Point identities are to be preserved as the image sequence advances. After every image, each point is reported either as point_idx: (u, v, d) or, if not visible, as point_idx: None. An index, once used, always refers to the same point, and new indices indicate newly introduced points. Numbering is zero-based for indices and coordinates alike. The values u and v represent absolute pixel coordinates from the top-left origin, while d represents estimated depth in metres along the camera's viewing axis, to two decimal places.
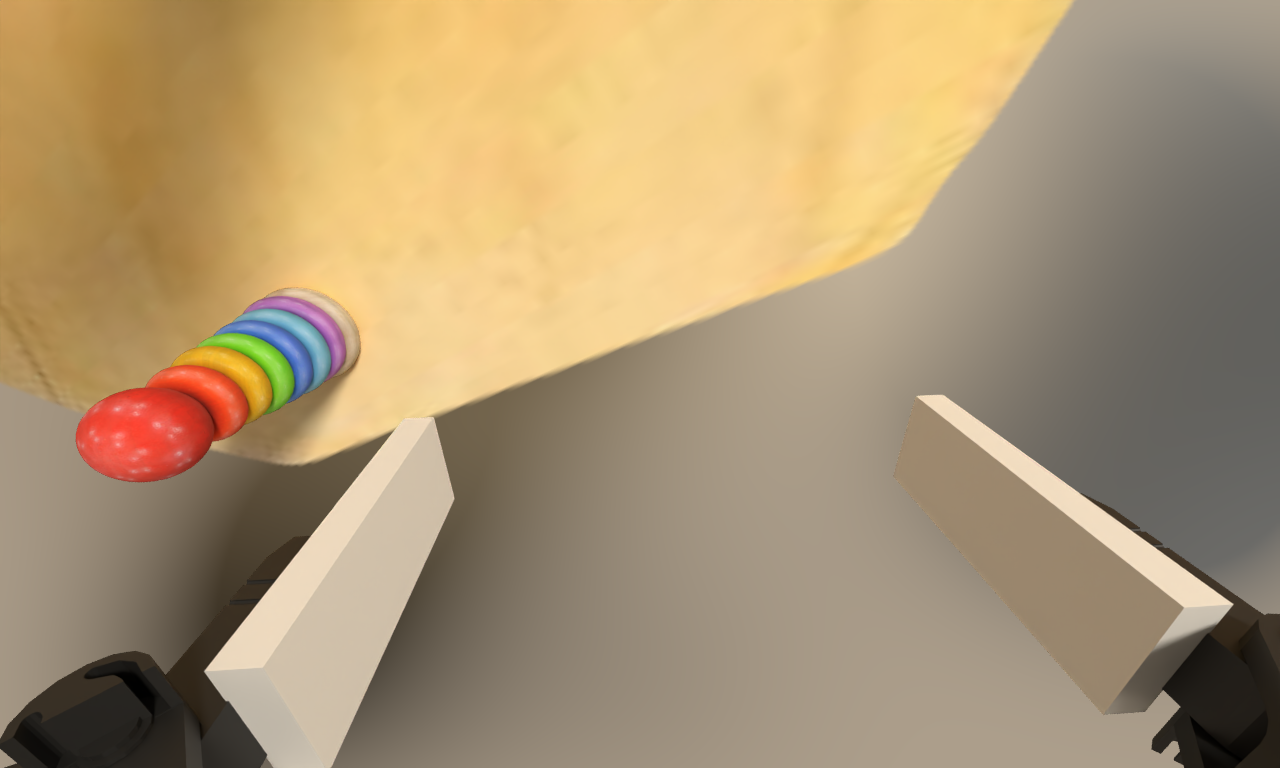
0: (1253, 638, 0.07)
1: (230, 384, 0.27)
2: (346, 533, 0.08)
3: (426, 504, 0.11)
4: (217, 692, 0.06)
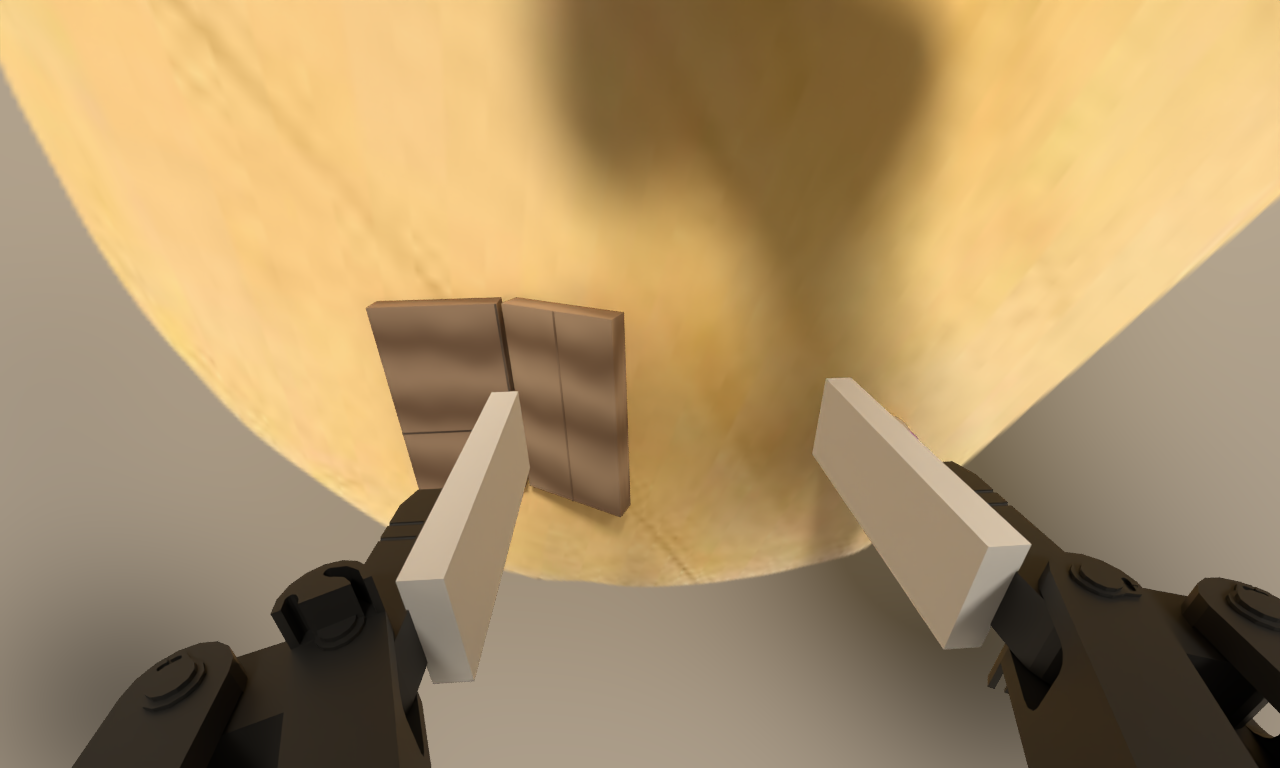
0: (1047, 578, 0.07)
1: None
2: (474, 482, 0.09)
3: (515, 468, 0.12)
4: (397, 603, 0.08)
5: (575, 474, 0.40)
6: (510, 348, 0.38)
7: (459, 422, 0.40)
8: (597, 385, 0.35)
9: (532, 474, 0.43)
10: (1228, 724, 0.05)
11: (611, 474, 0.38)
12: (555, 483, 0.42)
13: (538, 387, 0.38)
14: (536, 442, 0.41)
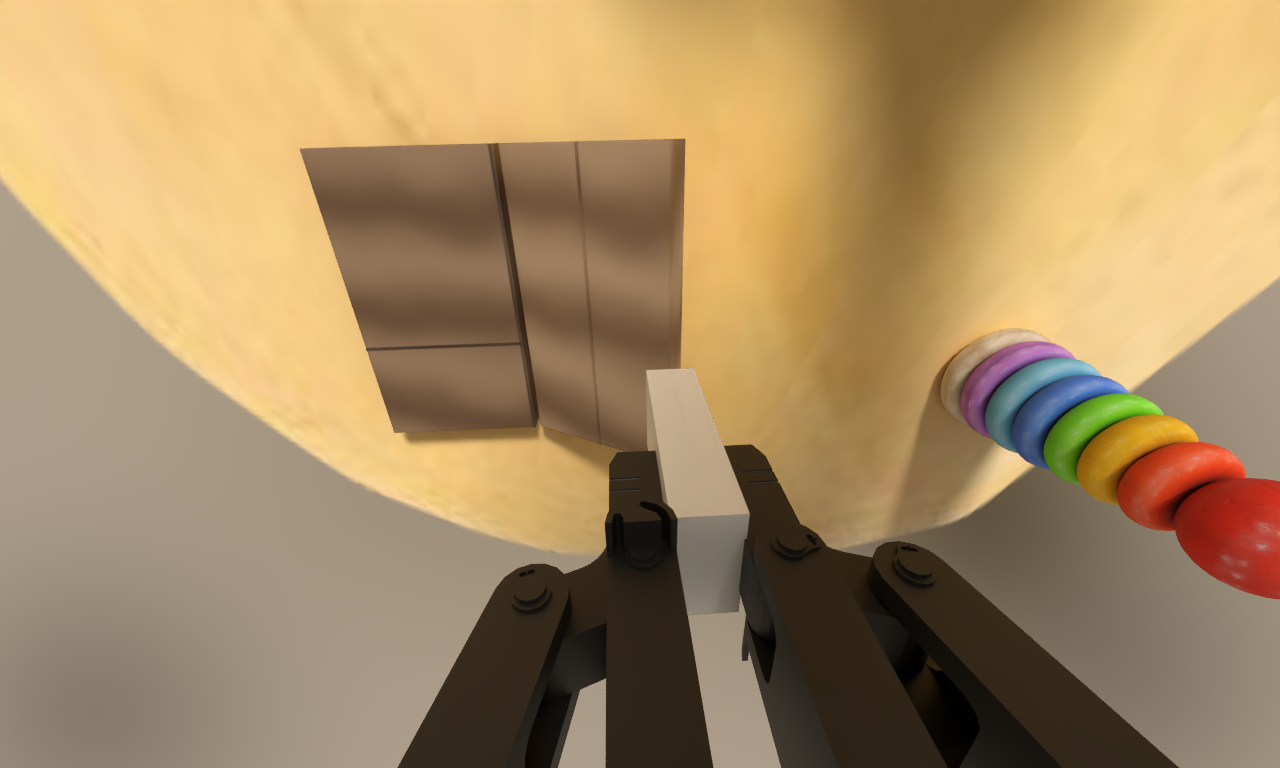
0: (757, 555, 0.08)
1: (1223, 448, 0.22)
2: (683, 442, 0.11)
3: None
4: None
5: (604, 405, 0.29)
6: (512, 218, 0.26)
7: (443, 333, 0.29)
8: (641, 260, 0.23)
9: (544, 409, 0.32)
10: (881, 650, 0.06)
11: None
12: (576, 421, 0.31)
13: (553, 276, 0.27)
14: (550, 361, 0.30)
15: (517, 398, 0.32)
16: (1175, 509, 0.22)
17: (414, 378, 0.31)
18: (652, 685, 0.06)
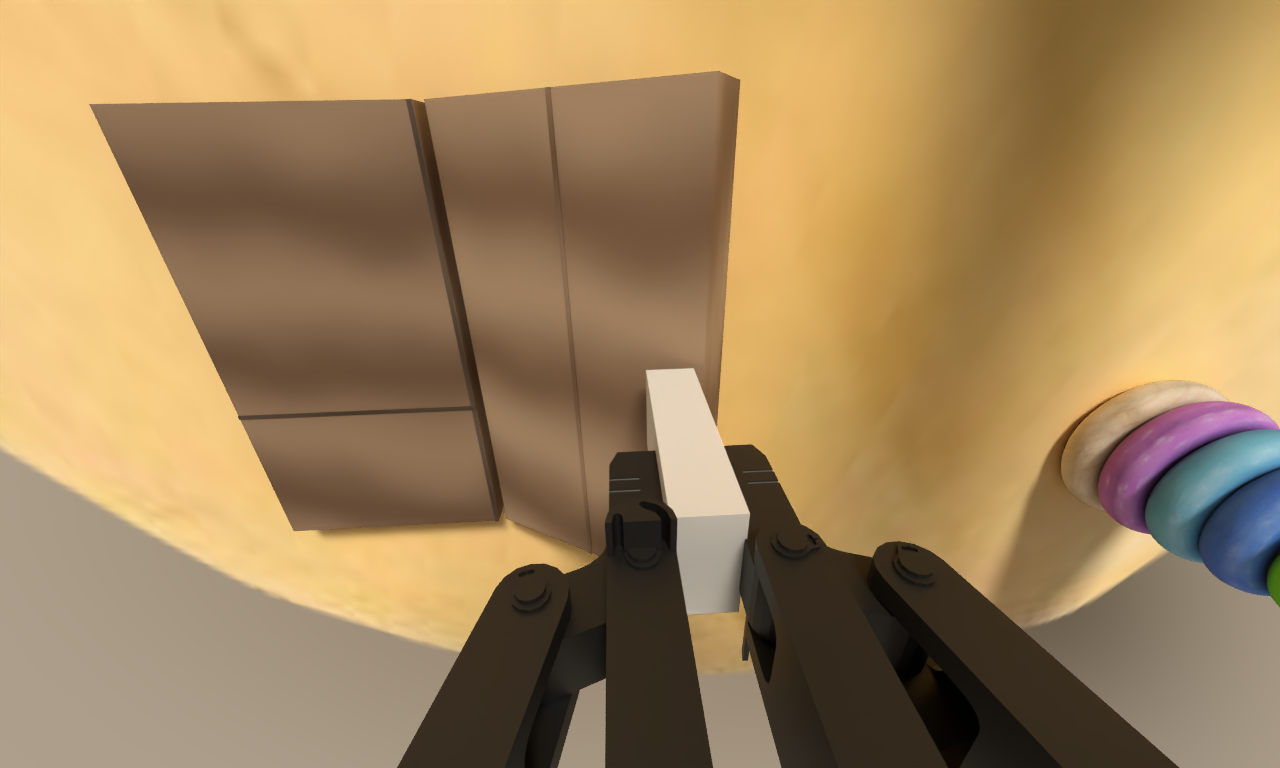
0: (757, 555, 0.08)
1: None
2: (683, 442, 0.11)
3: None
4: None
5: (597, 503, 0.19)
6: (452, 221, 0.17)
7: (355, 394, 0.19)
8: (660, 290, 0.14)
9: (510, 498, 0.22)
10: (882, 650, 0.06)
11: None
12: (556, 518, 0.21)
13: (517, 312, 0.17)
14: (517, 435, 0.20)
15: (471, 482, 0.22)
16: None
17: (316, 457, 0.21)
18: (652, 685, 0.06)
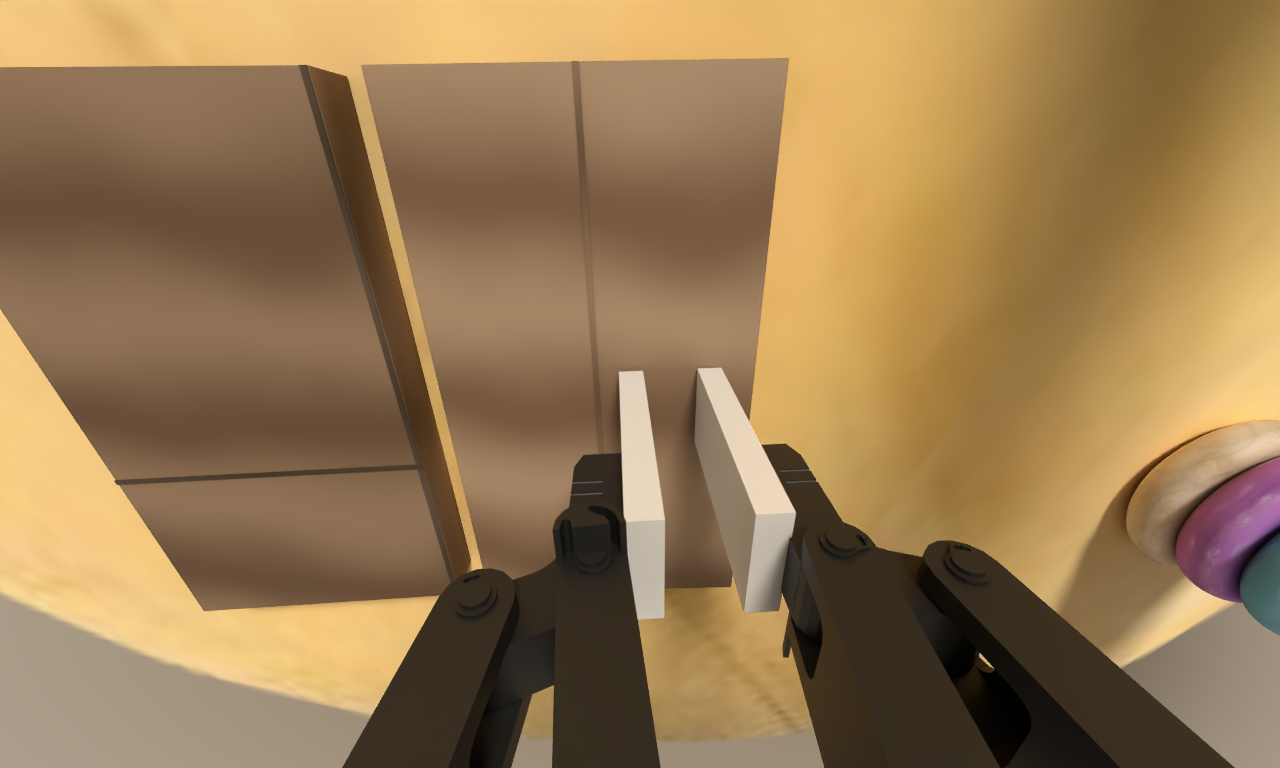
0: (804, 552, 0.08)
1: None
2: (647, 445, 0.11)
3: None
4: None
5: None
6: (411, 233, 0.12)
7: (266, 452, 0.15)
8: (711, 288, 0.13)
9: (496, 566, 0.18)
10: (934, 653, 0.06)
11: None
12: None
13: (516, 338, 0.14)
14: (509, 487, 0.16)
15: (422, 552, 0.18)
16: None
17: (223, 527, 0.16)
18: (600, 691, 0.06)
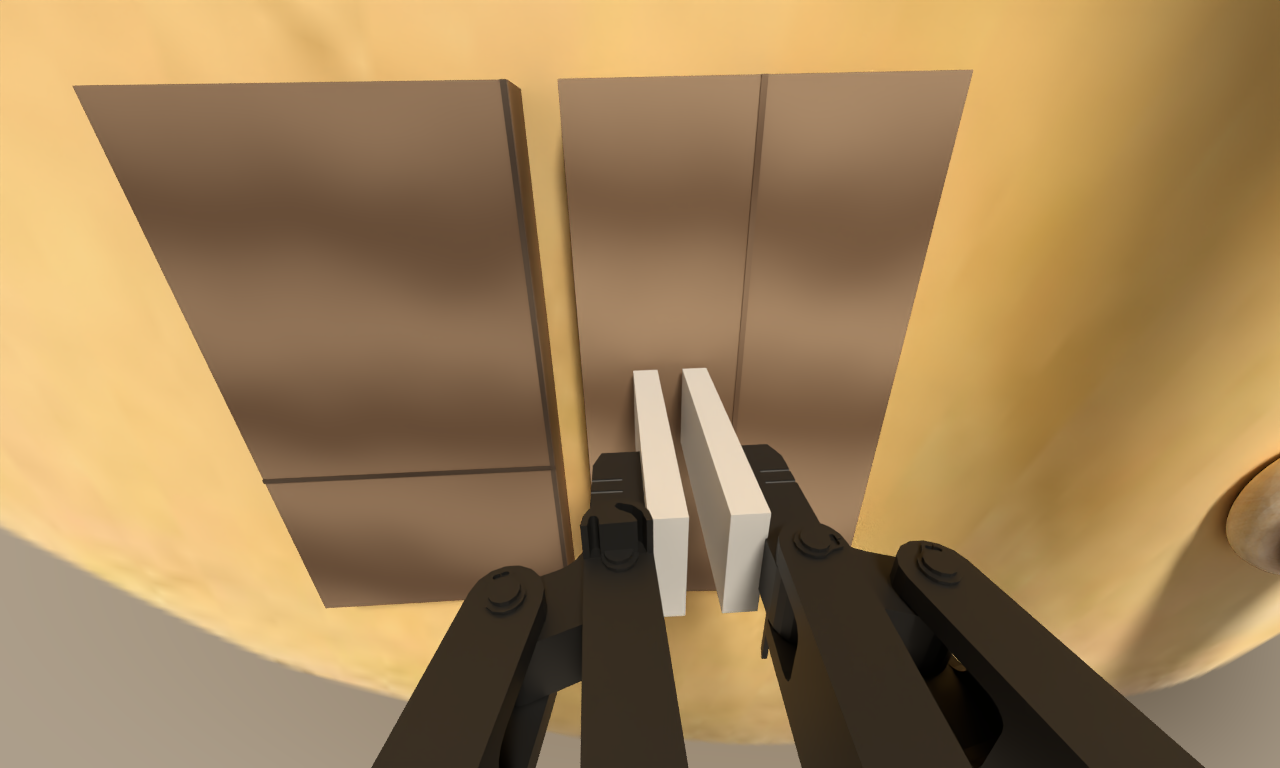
0: (779, 553, 0.08)
1: None
2: (666, 443, 0.11)
3: None
4: None
5: None
6: (580, 240, 0.13)
7: (408, 453, 0.16)
8: (864, 293, 0.13)
9: None
10: (906, 651, 0.06)
11: (841, 507, 0.17)
12: None
13: (666, 342, 0.14)
14: None
15: (542, 552, 0.18)
16: None
17: (356, 526, 0.17)
18: (628, 687, 0.06)
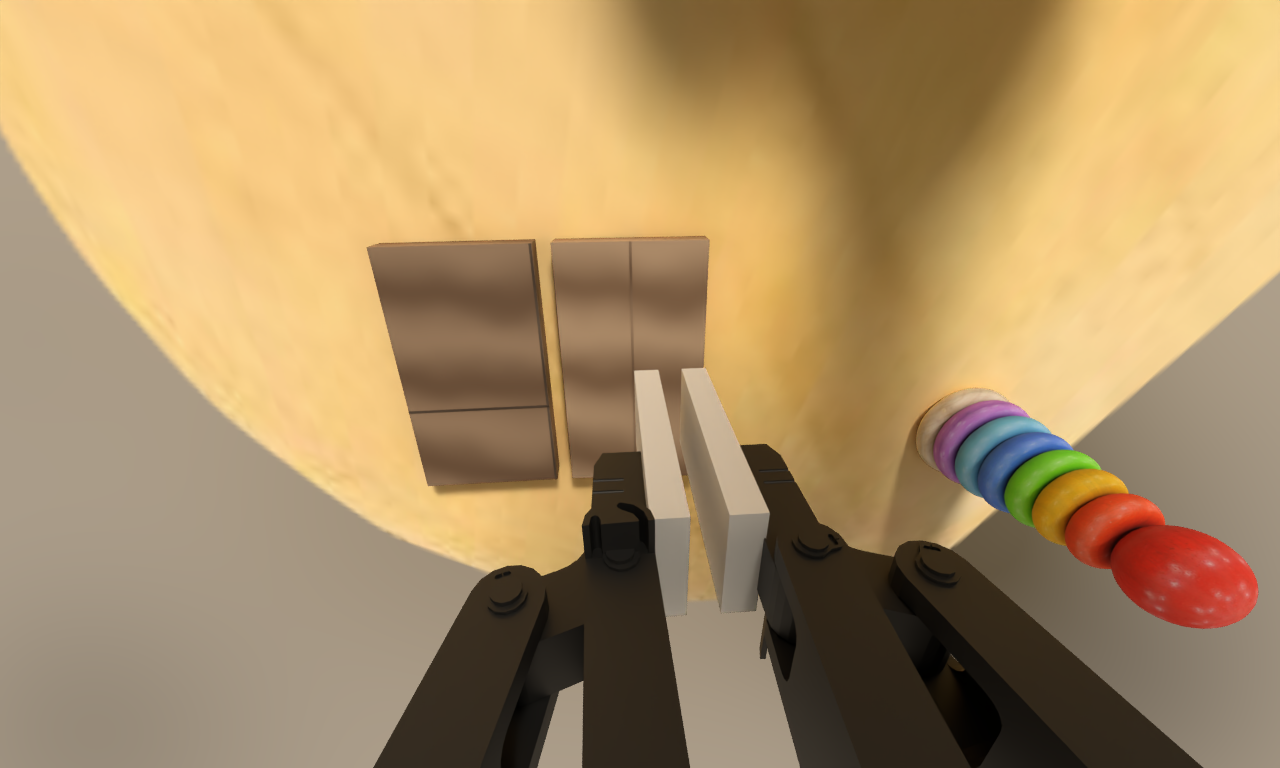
0: (777, 553, 0.08)
1: None
2: (668, 443, 0.11)
3: None
4: None
5: None
6: (560, 301, 0.30)
7: (479, 398, 0.33)
8: (683, 323, 0.31)
9: (578, 462, 0.36)
10: (904, 651, 0.06)
11: None
12: None
13: (598, 345, 0.32)
14: (589, 417, 0.34)
15: (542, 453, 0.35)
16: (1111, 551, 0.27)
17: (450, 437, 0.34)
18: (629, 687, 0.06)
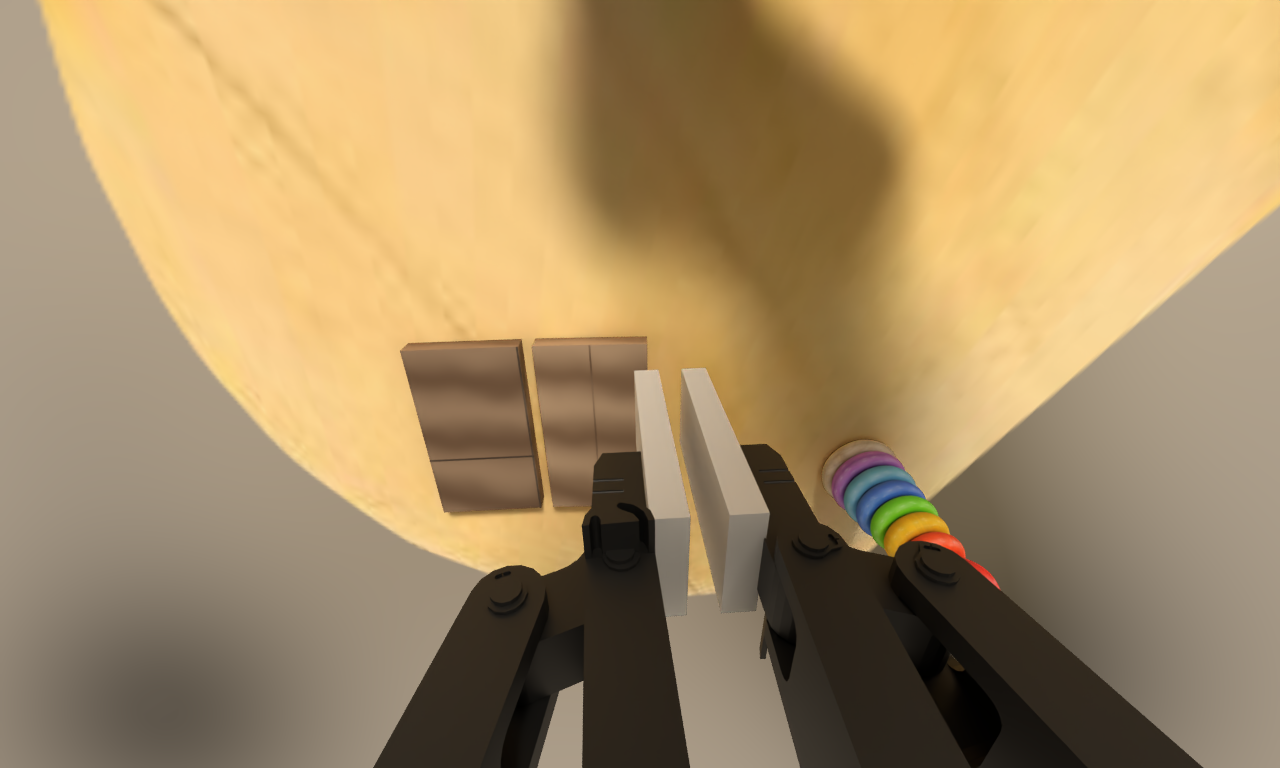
0: (777, 553, 0.08)
1: (952, 536, 0.37)
2: (668, 443, 0.11)
3: None
4: None
5: None
6: (539, 385, 0.41)
7: (481, 450, 0.44)
8: (631, 399, 0.42)
9: (557, 495, 0.47)
10: (904, 651, 0.06)
11: None
12: (582, 496, 0.47)
13: (569, 414, 0.43)
14: (564, 463, 0.45)
15: (529, 489, 0.47)
16: None
17: (460, 478, 0.45)
18: (629, 687, 0.06)
